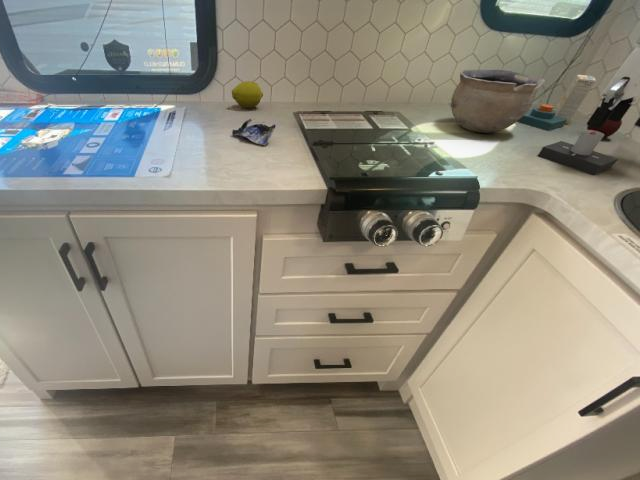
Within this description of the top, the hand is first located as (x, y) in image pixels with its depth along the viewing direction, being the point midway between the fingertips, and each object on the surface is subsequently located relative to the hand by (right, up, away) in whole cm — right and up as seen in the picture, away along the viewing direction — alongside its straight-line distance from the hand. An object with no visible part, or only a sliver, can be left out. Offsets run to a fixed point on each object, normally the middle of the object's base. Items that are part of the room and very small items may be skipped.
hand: (602, 123), depth 87 cm
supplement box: (+20, +18, +34) cm, 43 cm away
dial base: (-1, -7, +7) cm, 10 cm away
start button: (+10, +18, +28) cm, 35 cm away
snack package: (-89, +1, +12) cm, 90 cm away
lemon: (-90, +22, +33) cm, 98 cm away
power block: (+10, +16, +31) cm, 36 cm away
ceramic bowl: (-16, +11, +25) cm, 31 cm away
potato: (+21, +7, +23) cm, 32 cm away
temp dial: (-1, -5, +5) cm, 7 cm away
